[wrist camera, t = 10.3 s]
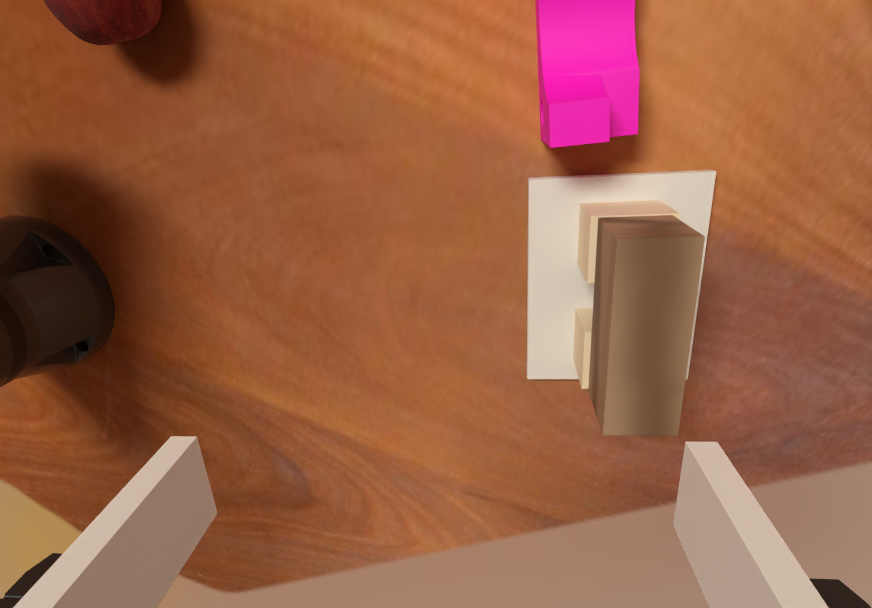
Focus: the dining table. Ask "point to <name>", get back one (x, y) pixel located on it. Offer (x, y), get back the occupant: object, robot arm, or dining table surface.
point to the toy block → (587, 70)
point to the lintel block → (642, 322)
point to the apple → (107, 18)
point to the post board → (561, 248)
